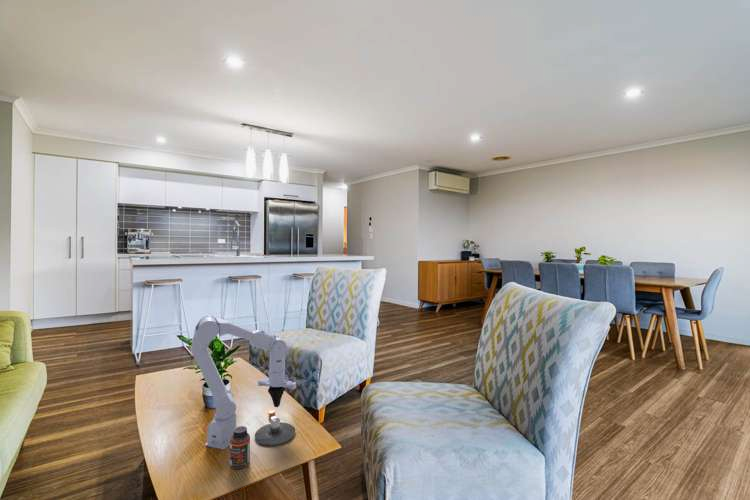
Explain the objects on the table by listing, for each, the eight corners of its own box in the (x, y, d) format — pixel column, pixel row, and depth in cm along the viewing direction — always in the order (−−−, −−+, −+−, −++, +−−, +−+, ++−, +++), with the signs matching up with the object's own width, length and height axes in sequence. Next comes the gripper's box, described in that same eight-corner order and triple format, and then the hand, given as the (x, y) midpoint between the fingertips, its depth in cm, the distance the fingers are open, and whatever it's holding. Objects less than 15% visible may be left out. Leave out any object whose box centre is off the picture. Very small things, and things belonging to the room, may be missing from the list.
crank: (280, 432, 128) (280, 419, 128) (271, 434, 127) (271, 421, 127) (275, 421, 136) (275, 409, 136) (266, 423, 135) (266, 411, 134)
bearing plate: (281, 449, 120) (281, 446, 120) (246, 442, 125) (246, 438, 125) (302, 428, 134) (302, 425, 134) (269, 422, 138) (269, 419, 138)
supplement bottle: (228, 472, 109) (228, 435, 108) (231, 460, 114) (230, 425, 114) (249, 468, 110) (249, 432, 110) (250, 457, 116) (250, 423, 116)
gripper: (299, 367, 136) (299, 403, 136) (264, 364, 139) (264, 399, 139) (292, 374, 129) (291, 411, 129) (255, 371, 132) (254, 407, 132)
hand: (276, 405), depth 134 cm, fingers closed
